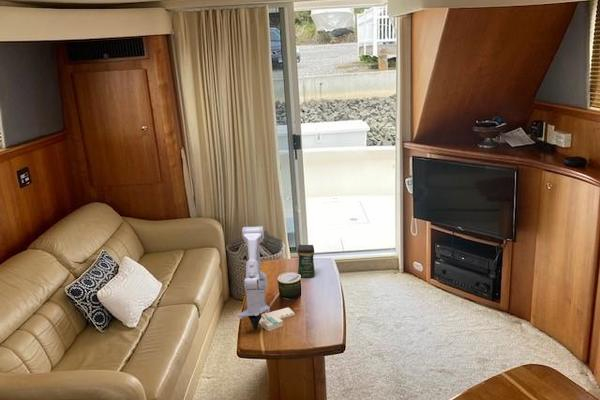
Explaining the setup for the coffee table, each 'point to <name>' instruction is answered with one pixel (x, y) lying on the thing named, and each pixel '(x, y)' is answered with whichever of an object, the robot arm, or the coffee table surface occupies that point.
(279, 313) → the board
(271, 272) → the coffee table surface
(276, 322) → the white and teal box
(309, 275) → the coffee jar
